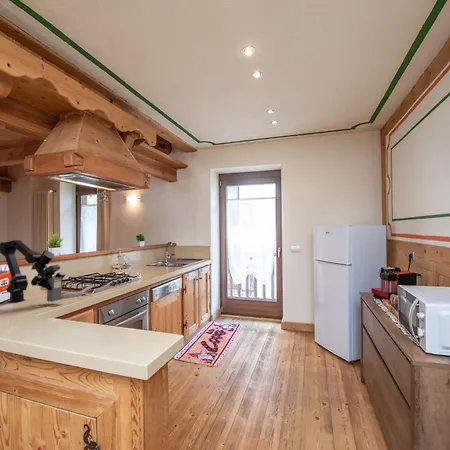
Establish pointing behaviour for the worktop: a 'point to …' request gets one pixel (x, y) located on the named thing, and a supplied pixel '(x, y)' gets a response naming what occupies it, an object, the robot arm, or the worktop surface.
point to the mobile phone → (74, 293)
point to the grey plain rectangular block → (54, 289)
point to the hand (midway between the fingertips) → (56, 289)
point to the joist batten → (50, 305)
